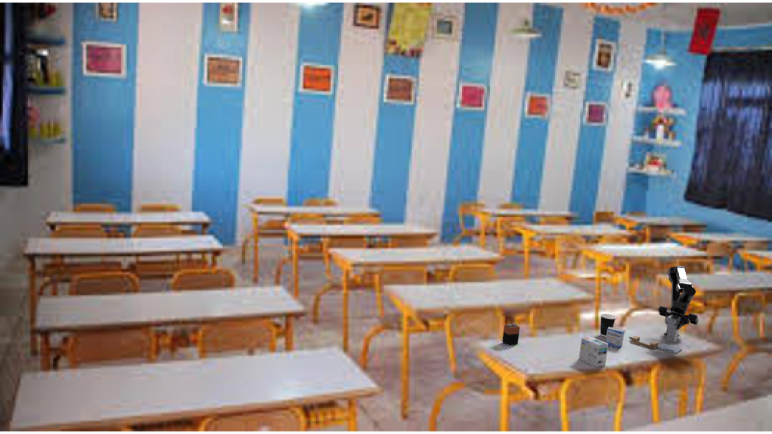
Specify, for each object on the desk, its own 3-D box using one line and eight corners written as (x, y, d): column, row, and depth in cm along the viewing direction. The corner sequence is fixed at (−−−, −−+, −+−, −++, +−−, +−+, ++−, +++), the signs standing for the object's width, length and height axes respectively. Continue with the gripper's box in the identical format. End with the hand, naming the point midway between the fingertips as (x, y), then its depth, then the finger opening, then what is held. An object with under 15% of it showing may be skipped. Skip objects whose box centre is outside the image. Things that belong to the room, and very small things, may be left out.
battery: (501, 342, 323) (504, 323, 321) (512, 341, 326) (515, 322, 324) (506, 345, 319) (509, 326, 317) (518, 344, 322) (520, 325, 320)
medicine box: (604, 344, 333) (607, 328, 332) (606, 342, 337) (608, 326, 336) (620, 348, 330) (623, 332, 328) (622, 346, 334) (624, 329, 332)
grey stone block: (668, 338, 337) (672, 314, 335) (676, 340, 334) (680, 316, 332) (663, 341, 331) (667, 317, 329) (671, 344, 328) (675, 319, 326)
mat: (663, 345, 341) (664, 343, 341) (681, 350, 335) (682, 348, 335) (657, 348, 334) (658, 347, 334) (676, 354, 328) (676, 352, 328)
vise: (631, 338, 346) (631, 334, 346) (657, 346, 337) (658, 342, 337) (626, 341, 342) (627, 336, 341) (653, 349, 333) (654, 344, 332)
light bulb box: (605, 365, 304) (609, 343, 302) (596, 367, 301) (599, 345, 299) (587, 357, 313) (590, 335, 311) (578, 359, 309) (581, 337, 308)
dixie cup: (595, 335, 346) (598, 315, 344) (599, 332, 353) (602, 312, 351) (611, 339, 342) (614, 319, 340) (614, 335, 349) (617, 316, 347)
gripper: (662, 290, 339) (651, 315, 333) (700, 299, 327) (690, 325, 321) (665, 302, 346) (654, 326, 340) (702, 312, 334) (692, 337, 328)
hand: (672, 328), depth 332 cm, fingers closed on grey stone block, 4 cm apart
